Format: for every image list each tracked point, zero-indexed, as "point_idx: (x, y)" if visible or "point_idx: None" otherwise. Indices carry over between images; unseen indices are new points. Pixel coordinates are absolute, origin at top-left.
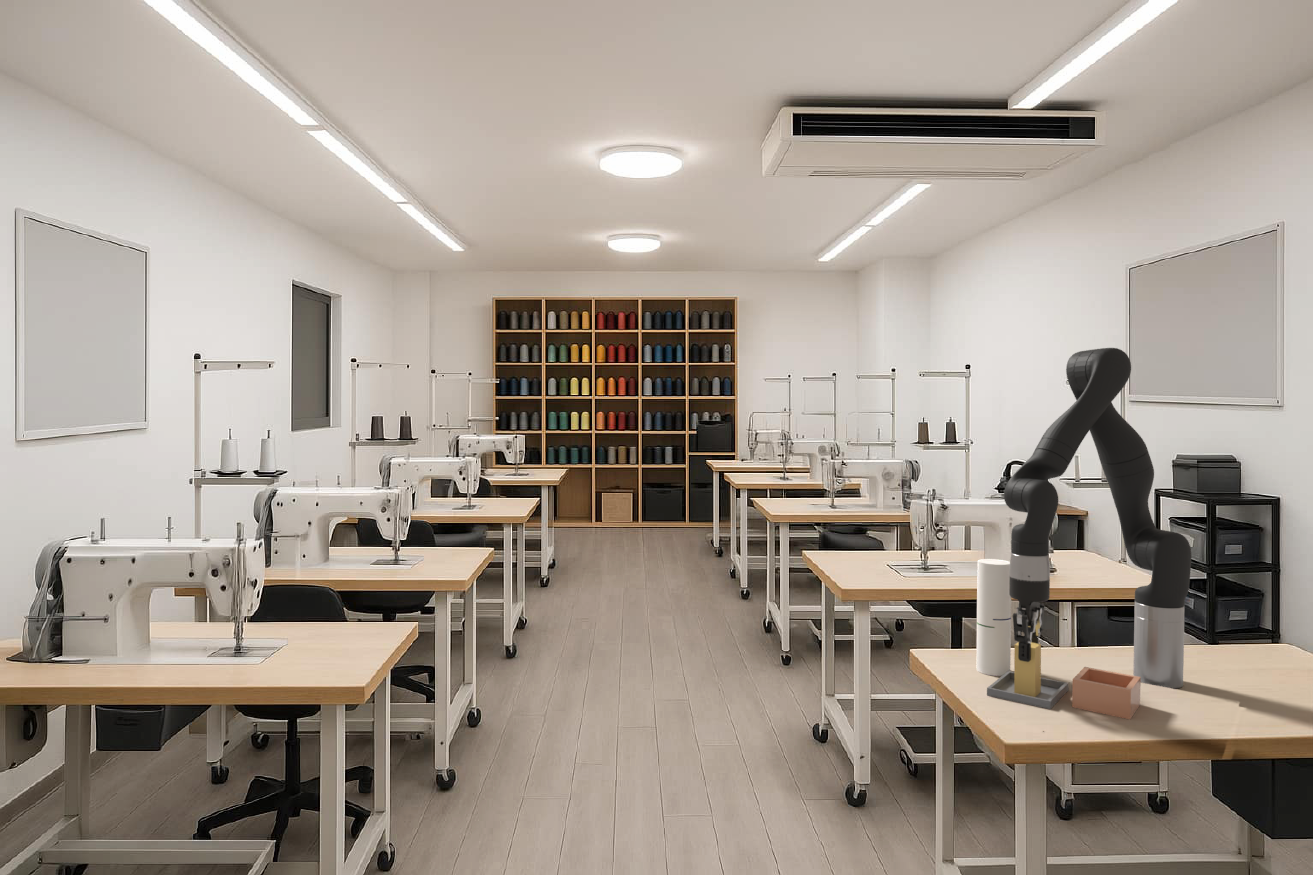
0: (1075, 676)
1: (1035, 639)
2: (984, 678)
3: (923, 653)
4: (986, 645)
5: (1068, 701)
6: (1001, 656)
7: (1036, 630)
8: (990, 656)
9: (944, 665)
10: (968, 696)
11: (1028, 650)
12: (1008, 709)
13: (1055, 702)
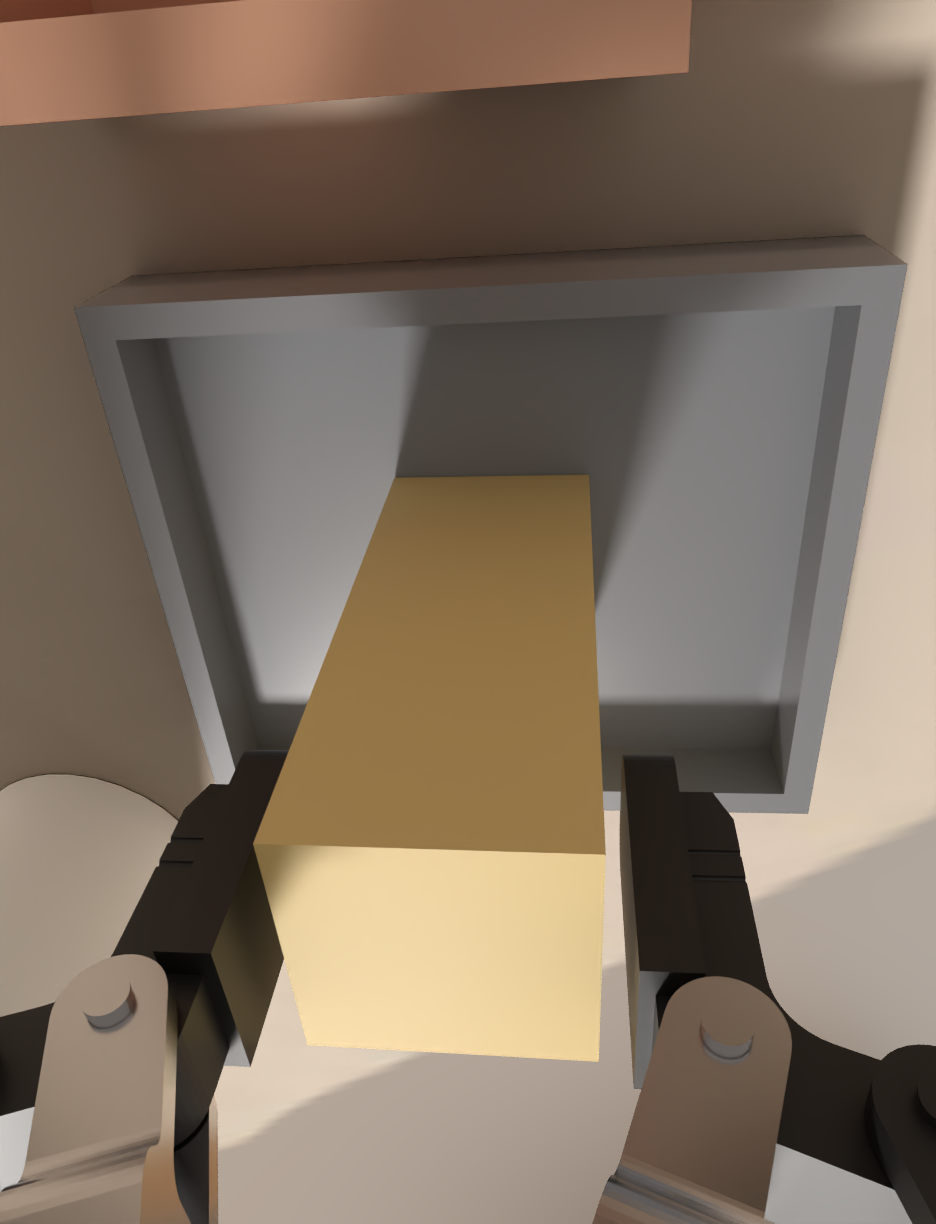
0: (495, 81)
1: (225, 953)
2: None
3: None
4: None
5: (327, 208)
6: (83, 927)
7: (169, 1113)
8: None
9: (257, 1052)
10: (778, 842)
11: (692, 888)
12: (931, 567)
13: (648, 261)
